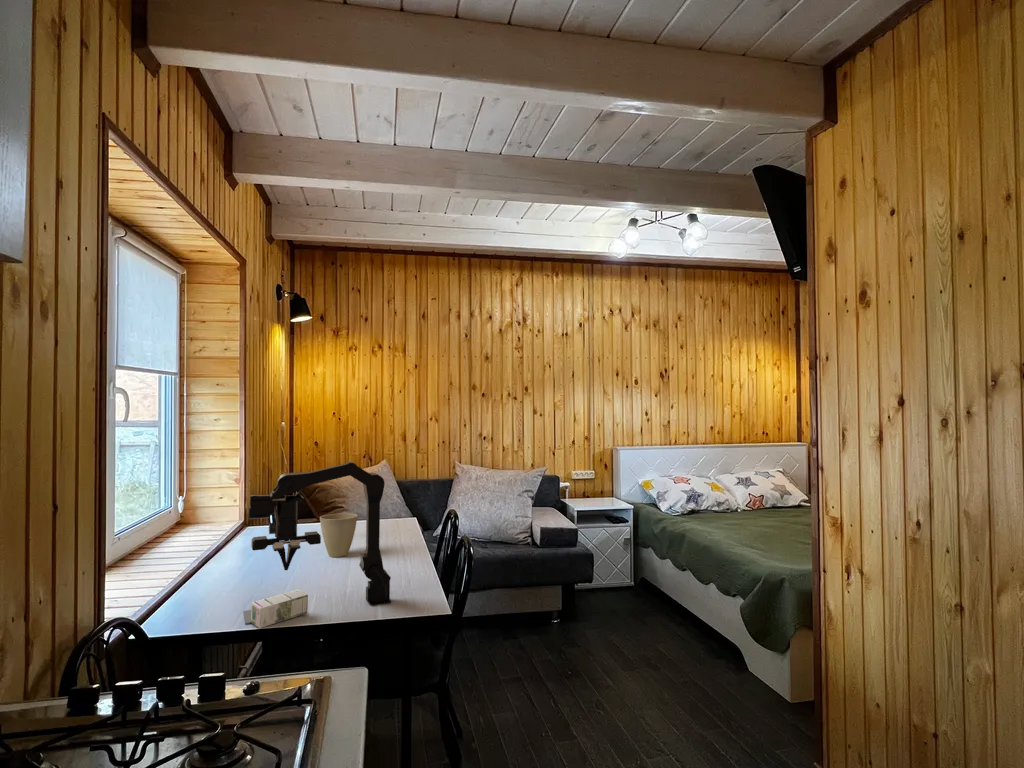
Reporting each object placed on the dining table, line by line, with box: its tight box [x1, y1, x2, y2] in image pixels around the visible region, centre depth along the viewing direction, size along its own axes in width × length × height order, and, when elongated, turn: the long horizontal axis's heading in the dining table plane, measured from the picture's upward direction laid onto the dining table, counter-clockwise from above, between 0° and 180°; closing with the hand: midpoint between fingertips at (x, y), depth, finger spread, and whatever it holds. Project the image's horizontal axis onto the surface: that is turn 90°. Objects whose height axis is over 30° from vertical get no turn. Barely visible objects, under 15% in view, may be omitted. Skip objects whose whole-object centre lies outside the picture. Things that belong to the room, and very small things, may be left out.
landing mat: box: [243, 609, 298, 625], centre depth 171 cm, size 14×11×1 cm
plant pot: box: [319, 512, 358, 558], centre depth 240 cm, size 15×15×16 cm
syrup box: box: [250, 588, 309, 629], centre depth 167 cm, size 6×6×14 cm
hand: (286, 570), depth 172 cm, fingers closed
